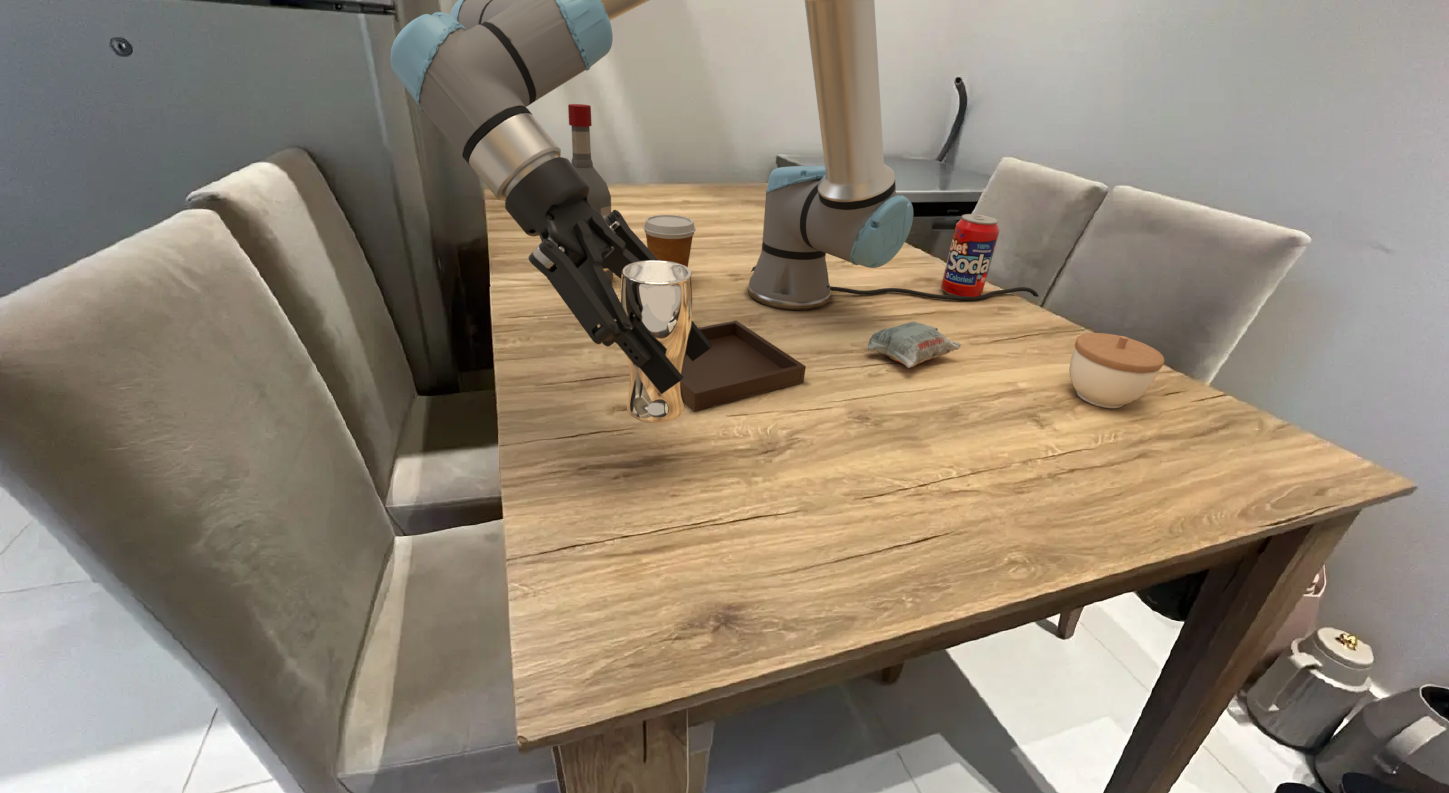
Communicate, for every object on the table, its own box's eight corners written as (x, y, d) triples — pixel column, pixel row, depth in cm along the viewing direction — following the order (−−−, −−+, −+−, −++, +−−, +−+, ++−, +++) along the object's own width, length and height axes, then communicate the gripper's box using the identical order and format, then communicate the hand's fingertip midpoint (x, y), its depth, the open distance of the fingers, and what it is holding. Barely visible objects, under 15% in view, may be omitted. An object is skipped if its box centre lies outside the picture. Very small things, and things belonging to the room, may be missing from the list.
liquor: (563, 288, 114) (550, 107, 99) (562, 272, 121) (550, 101, 106) (614, 287, 116) (609, 109, 101) (610, 271, 123) (605, 103, 109)
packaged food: (956, 361, 97) (964, 331, 95) (906, 379, 91) (913, 347, 88) (911, 340, 103) (917, 312, 101) (862, 356, 97) (867, 326, 94)
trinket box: (1155, 422, 84) (1184, 359, 79) (1071, 410, 85) (1095, 348, 81) (1125, 385, 93) (1150, 327, 89) (1050, 375, 95) (1070, 317, 90)
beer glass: (610, 415, 64) (604, 275, 57) (642, 386, 70) (641, 255, 63) (670, 432, 62) (673, 289, 55) (699, 401, 68) (705, 267, 61)
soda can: (977, 289, 127) (997, 215, 120) (984, 303, 121) (1006, 225, 113) (937, 285, 128) (955, 211, 121) (942, 298, 122) (961, 220, 114)
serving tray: (735, 335, 100) (736, 320, 99) (803, 382, 88) (806, 366, 86) (634, 355, 92) (634, 339, 90) (694, 411, 79) (695, 393, 78)
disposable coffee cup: (686, 295, 114) (688, 230, 108) (636, 289, 116) (635, 223, 110) (698, 279, 123) (701, 217, 117) (651, 273, 124) (652, 211, 118)
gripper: (568, 186, 69) (699, 349, 73) (439, 228, 53) (617, 435, 56) (609, 140, 65) (746, 314, 69) (483, 170, 49) (672, 397, 52)
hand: (688, 368), depth 63 cm, fingers closed on beer glass, 7 cm apart
